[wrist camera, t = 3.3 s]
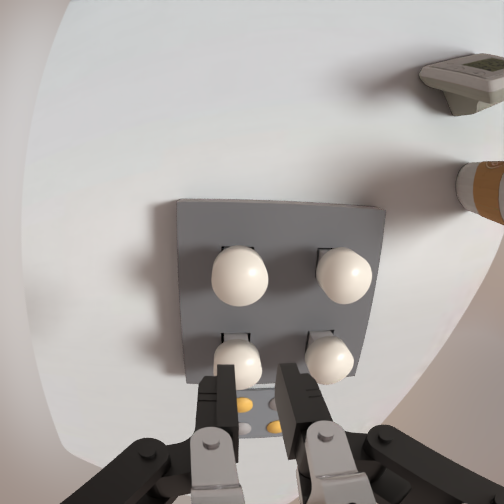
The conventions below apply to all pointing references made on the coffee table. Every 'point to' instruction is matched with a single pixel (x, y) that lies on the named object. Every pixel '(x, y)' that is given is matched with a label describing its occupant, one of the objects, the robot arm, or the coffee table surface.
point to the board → (271, 277)
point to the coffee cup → (482, 189)
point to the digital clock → (468, 82)
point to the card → (257, 413)
